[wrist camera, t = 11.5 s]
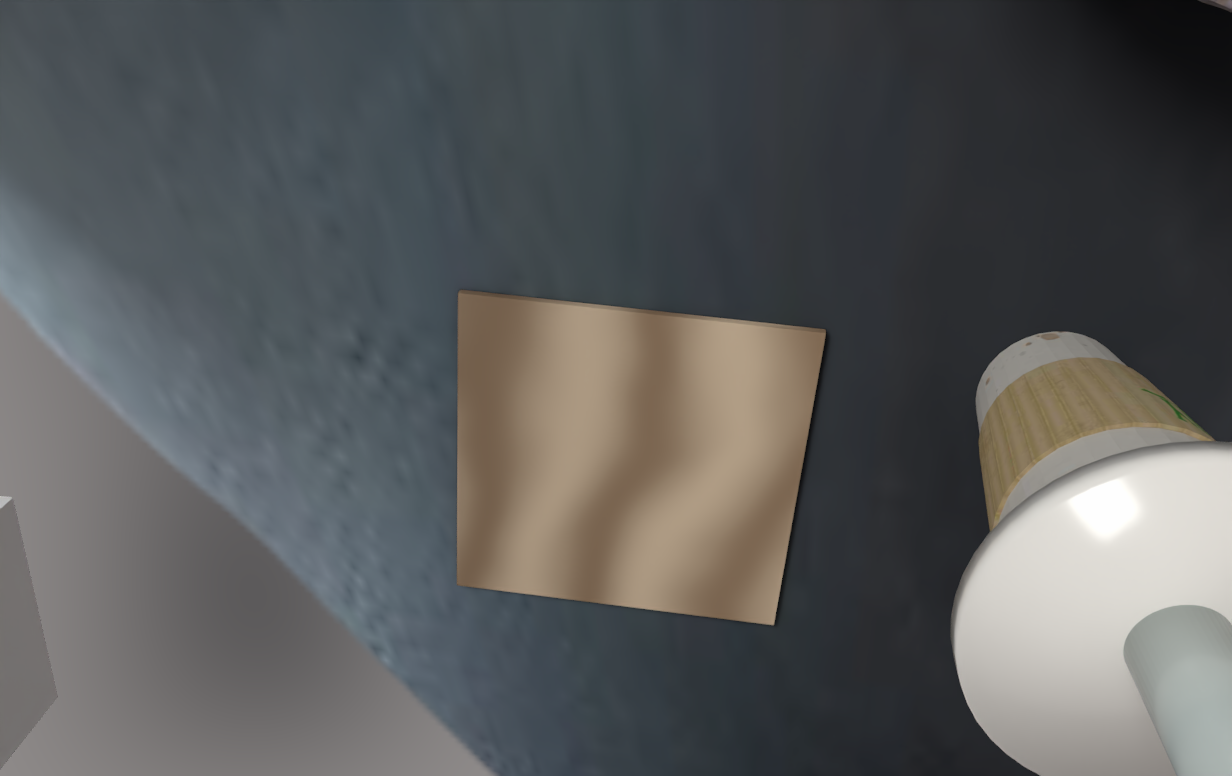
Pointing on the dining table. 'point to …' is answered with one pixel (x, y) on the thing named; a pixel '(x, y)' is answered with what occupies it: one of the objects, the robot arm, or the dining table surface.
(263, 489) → the dining table surface
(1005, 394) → the coffee cup
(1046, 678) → the lid
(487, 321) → the mat
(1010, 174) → the dining table surface
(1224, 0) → the planter
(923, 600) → the dining table surface
